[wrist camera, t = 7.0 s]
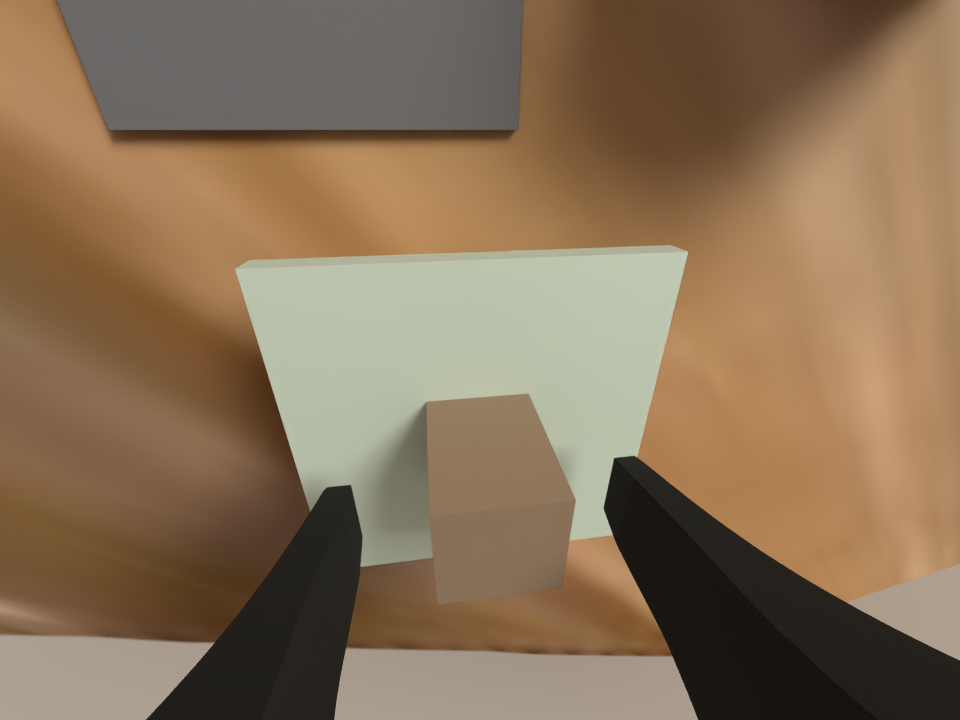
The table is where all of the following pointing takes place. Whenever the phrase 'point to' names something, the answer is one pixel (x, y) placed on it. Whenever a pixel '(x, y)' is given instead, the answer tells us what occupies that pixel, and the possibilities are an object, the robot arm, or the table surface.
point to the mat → (301, 63)
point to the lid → (467, 396)
